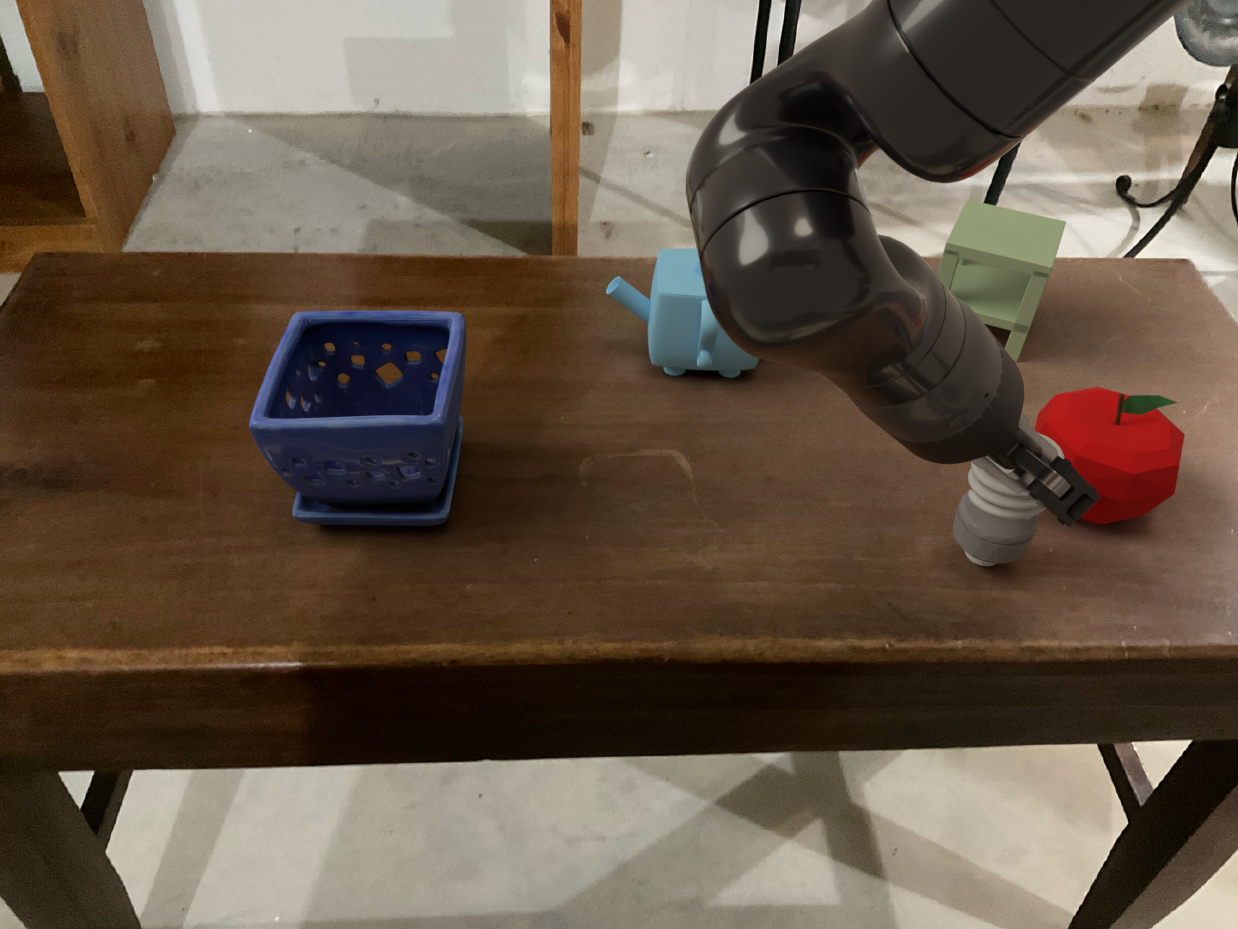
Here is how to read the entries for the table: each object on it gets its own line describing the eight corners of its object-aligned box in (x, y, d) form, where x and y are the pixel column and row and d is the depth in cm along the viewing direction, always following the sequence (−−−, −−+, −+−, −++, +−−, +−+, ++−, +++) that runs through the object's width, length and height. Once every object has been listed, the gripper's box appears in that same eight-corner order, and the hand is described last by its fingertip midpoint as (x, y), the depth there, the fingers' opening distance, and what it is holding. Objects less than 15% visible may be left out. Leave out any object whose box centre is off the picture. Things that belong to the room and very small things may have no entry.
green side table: (1032, 313, 94) (1066, 221, 87) (1017, 362, 88) (1052, 267, 81) (940, 290, 97) (966, 198, 90) (919, 335, 91) (946, 241, 84)
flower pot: (464, 546, 70) (447, 422, 62) (281, 547, 70) (240, 421, 61) (480, 428, 80) (467, 307, 71) (320, 428, 79) (289, 306, 71)
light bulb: (936, 580, 68) (983, 455, 60) (941, 525, 72) (985, 402, 64) (1019, 599, 67) (1077, 475, 59) (1019, 543, 71) (1073, 419, 63)
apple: (1027, 536, 72) (1072, 435, 65) (1001, 443, 79) (1040, 344, 73) (1173, 550, 71) (1235, 449, 64) (1133, 454, 79) (1184, 356, 72)
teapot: (602, 392, 83) (602, 293, 77) (609, 303, 94) (610, 208, 87) (808, 400, 83) (827, 301, 76) (793, 309, 93) (808, 215, 87)
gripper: (1086, 394, 46) (1151, 488, 58) (888, 257, 55) (980, 362, 67) (974, 509, 47) (1060, 577, 59) (800, 357, 56) (905, 443, 68)
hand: (1018, 463), depth 63 cm, fingers open, 8 cm apart
